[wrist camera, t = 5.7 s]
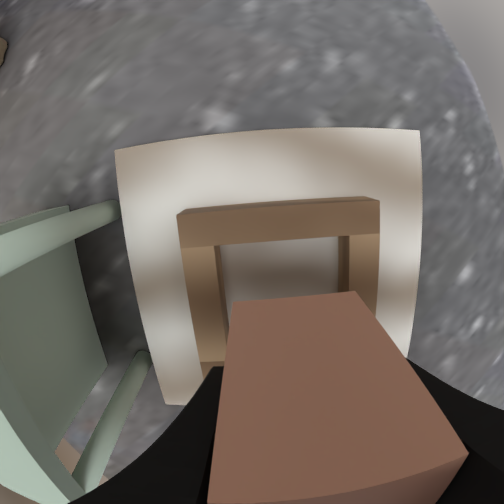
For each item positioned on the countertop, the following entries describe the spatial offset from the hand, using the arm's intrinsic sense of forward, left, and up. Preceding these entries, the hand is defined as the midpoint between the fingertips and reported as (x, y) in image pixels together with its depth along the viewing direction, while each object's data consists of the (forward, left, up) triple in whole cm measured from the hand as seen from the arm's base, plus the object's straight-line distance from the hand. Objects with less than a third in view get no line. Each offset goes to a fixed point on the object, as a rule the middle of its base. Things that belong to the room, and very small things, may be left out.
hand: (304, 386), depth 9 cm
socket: (0, 0, -9) cm, 9 cm away
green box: (0, +12, -9) cm, 15 cm away
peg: (0, 0, -2) cm, 2 cm away
